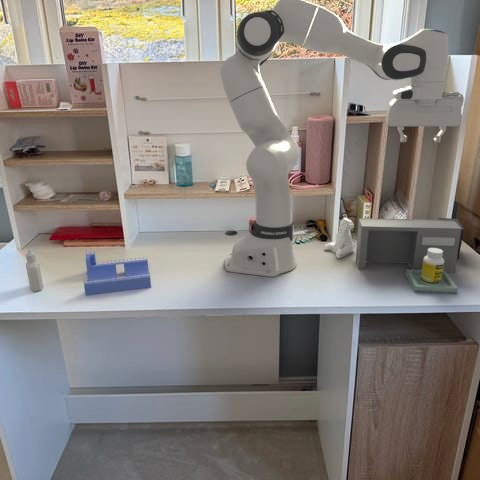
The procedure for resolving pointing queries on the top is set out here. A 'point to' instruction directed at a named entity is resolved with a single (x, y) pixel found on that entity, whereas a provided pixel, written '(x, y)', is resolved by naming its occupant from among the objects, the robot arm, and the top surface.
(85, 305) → the top surface
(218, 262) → the top surface
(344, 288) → the top surface
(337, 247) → the seated beast figurine
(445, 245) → the printer housing
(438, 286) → the tray
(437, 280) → the supplement bottle
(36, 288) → the eye dropper bottle
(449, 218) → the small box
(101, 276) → the blue plastic stand
